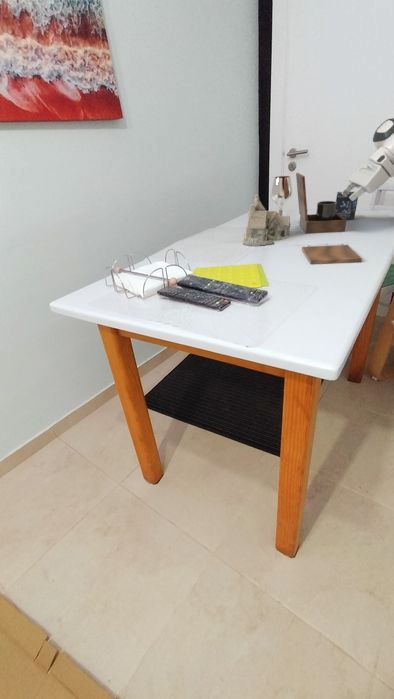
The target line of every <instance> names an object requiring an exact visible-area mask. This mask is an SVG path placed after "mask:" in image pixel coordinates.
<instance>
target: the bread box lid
mask: <svg viewBox="0 0 394 699" xmlns="http://www.w3.org/2000/svg"><path fill="white" fill-rule="evenodd" d="M295 177H296V190H297V191H296V192H297V199H298V201H297V203H298V214H299V216H300V215H301V216H302V217H303V219H304V220H305V221H308V215H309V214H308V205H307V204H308V202H307V201H308V200H307V190H306V177H305V176H304V175H303V174H301V173H299V172H296V173H295Z"/></svg>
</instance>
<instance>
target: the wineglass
mask: <svg viewBox="0 0 394 699" xmlns="http://www.w3.org/2000/svg"><path fill="white" fill-rule="evenodd" d="M292 195H293V184H292V180H291V176H289V175H281V176H275V177H273V181H272V185H271V189H270V198H271V200H272V201H273V202H274V203H275V205H277V206H278V208H279V209H282V208H283V206H284V205H285V204H287V202H289V201H290V199H291V198H292ZM279 209H278V210H279Z"/></svg>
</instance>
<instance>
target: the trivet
mask: <svg viewBox="0 0 394 699" xmlns="http://www.w3.org/2000/svg"><path fill="white" fill-rule="evenodd" d="M301 252H302V253H303V254H304V256H305V257H306V259H307V261H308V262H309V264H310V265H323V264H325V265H326V264H345V263H347V264H348V263H349V264H350V263H362V262H363V258H362V257H361V256H360V255H359V254H358V253H357V252H355V250H353V248H352V247H350V246H349V244H336V245H316V246H315V245H314V246H301Z"/></svg>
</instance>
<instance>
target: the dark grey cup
mask: <svg viewBox="0 0 394 699" xmlns="http://www.w3.org/2000/svg"><path fill="white" fill-rule="evenodd" d="M336 206H337V202H336V201H334V200H323V201H318V202H317V204H316V212H315V214H316V220H315V221H331V220H335V213H336Z"/></svg>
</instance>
